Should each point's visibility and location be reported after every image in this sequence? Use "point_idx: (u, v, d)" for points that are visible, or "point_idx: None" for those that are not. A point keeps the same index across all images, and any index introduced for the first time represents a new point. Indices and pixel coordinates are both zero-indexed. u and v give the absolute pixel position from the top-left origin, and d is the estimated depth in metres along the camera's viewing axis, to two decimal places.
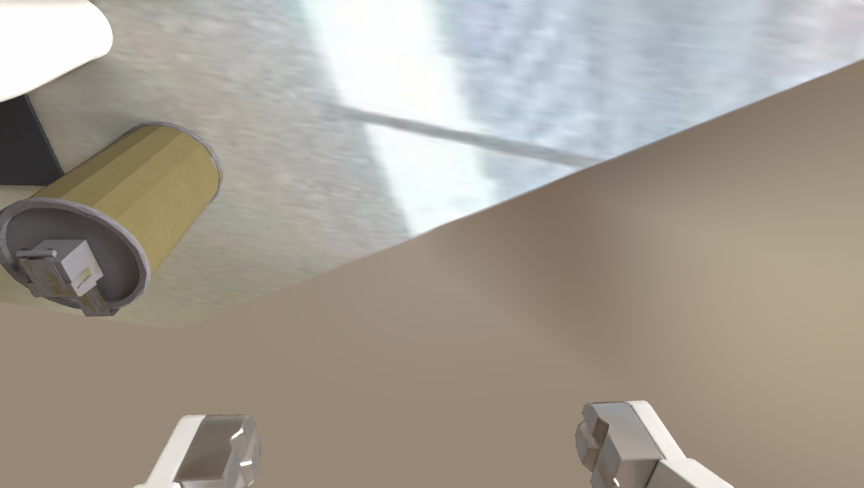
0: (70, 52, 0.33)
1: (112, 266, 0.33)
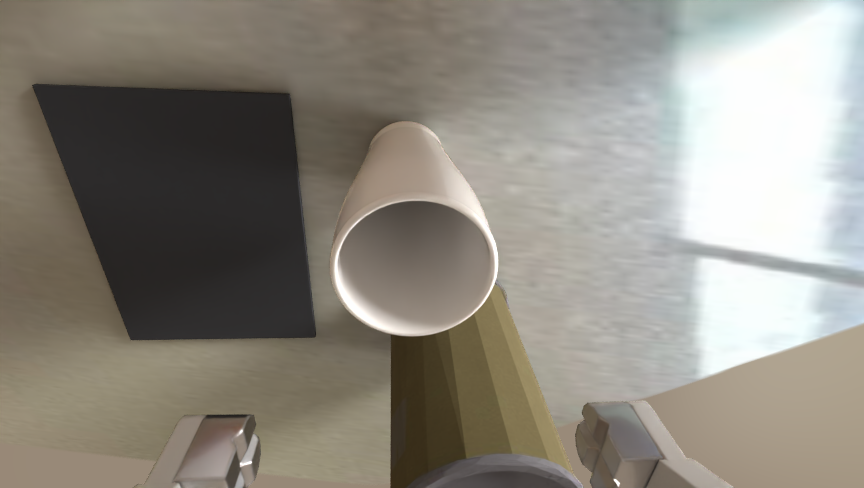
0: None
1: None
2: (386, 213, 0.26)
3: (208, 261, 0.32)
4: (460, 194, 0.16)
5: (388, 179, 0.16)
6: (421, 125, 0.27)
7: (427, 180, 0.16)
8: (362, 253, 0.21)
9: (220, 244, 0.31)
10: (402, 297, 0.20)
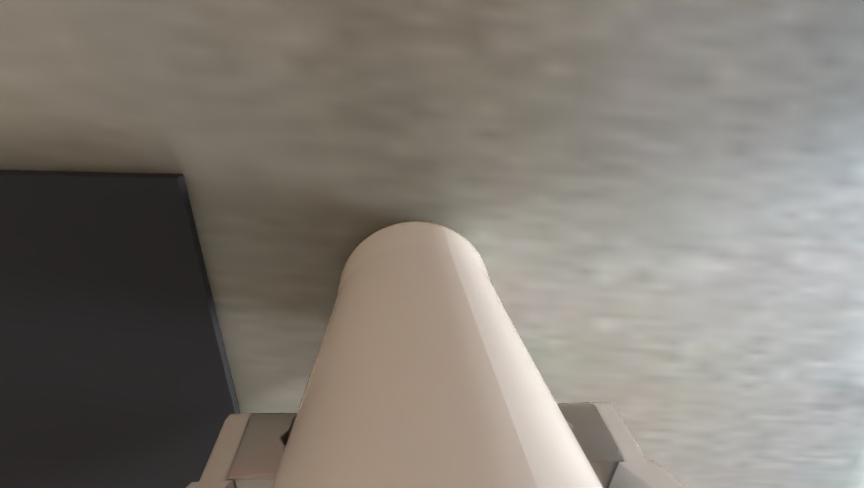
0: None
1: None
2: None
3: (66, 448, 0.18)
4: None
5: None
6: (446, 232, 0.14)
7: None
8: None
9: (83, 424, 0.17)
10: None
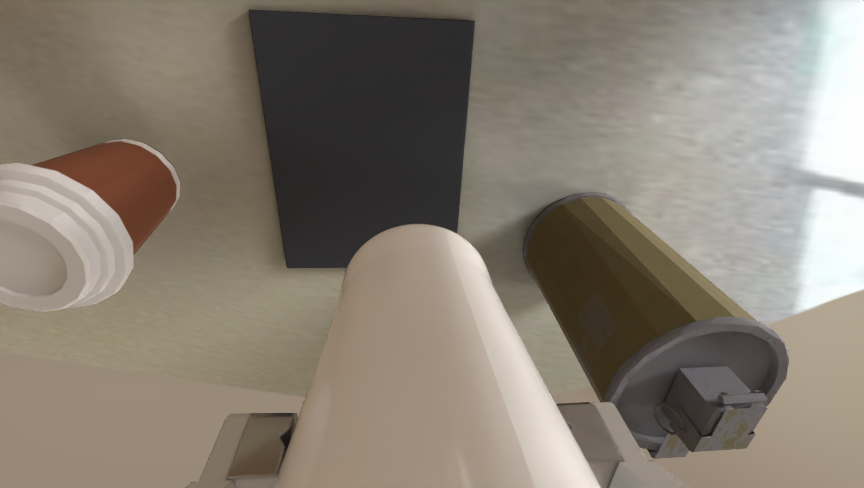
0: None
1: None
2: None
3: (372, 188, 0.34)
4: None
5: None
6: (448, 235, 0.14)
7: None
8: None
9: (386, 171, 0.33)
10: None
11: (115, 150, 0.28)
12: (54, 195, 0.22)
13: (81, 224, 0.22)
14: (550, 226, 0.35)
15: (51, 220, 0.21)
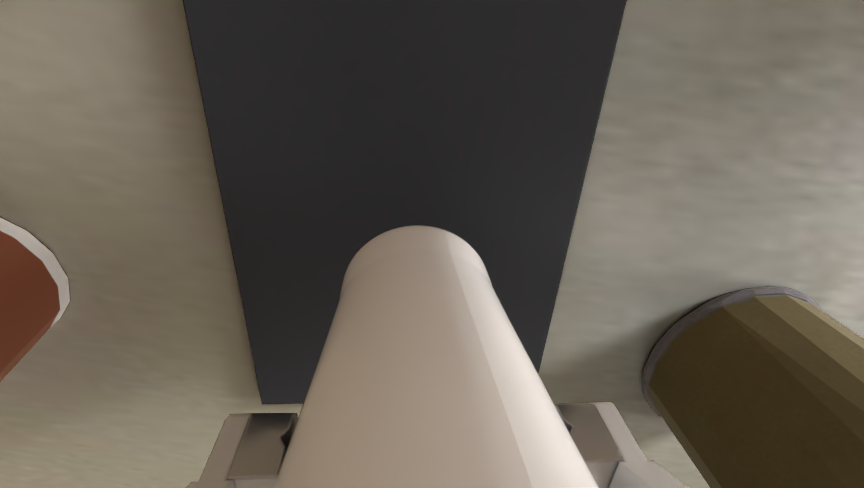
0: None
1: None
2: None
3: None
4: None
5: None
6: (448, 236, 0.14)
7: None
8: None
9: None
10: None
11: None
12: None
13: None
14: (710, 349, 0.20)
15: None
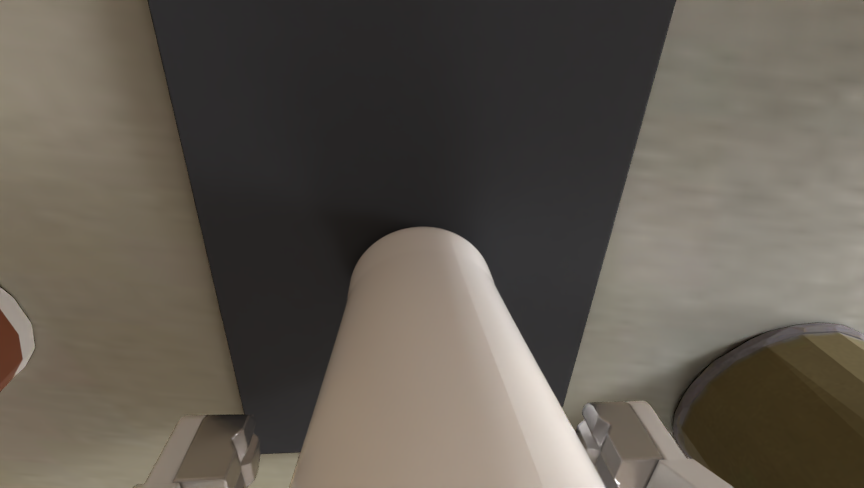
0: None
1: None
2: None
3: None
4: None
5: None
6: (452, 237, 0.14)
7: None
8: None
9: None
10: None
11: None
12: None
13: None
14: (756, 396, 0.18)
15: None
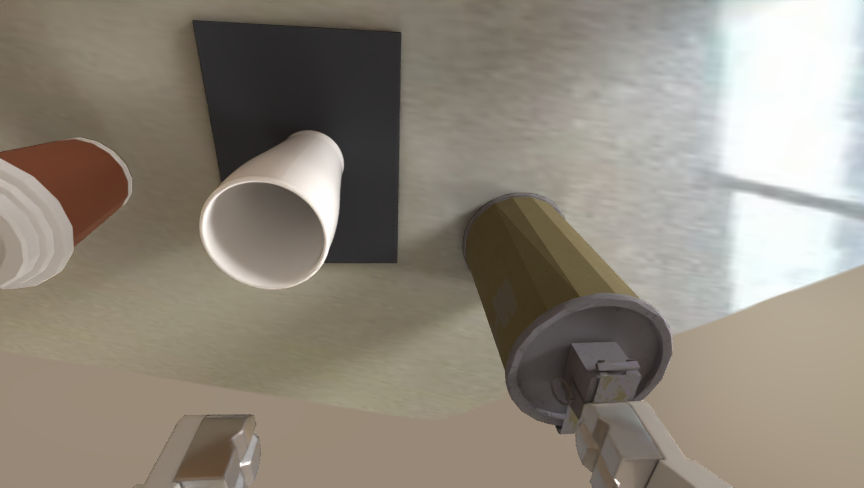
0: None
1: None
2: (287, 204, 0.32)
3: None
4: (297, 179, 0.22)
5: (245, 168, 0.22)
6: (320, 133, 0.33)
7: (271, 168, 0.22)
8: (249, 231, 0.27)
9: None
10: (275, 264, 0.25)
11: (67, 146, 0.31)
12: None
13: (20, 207, 0.24)
14: (482, 223, 0.37)
15: None
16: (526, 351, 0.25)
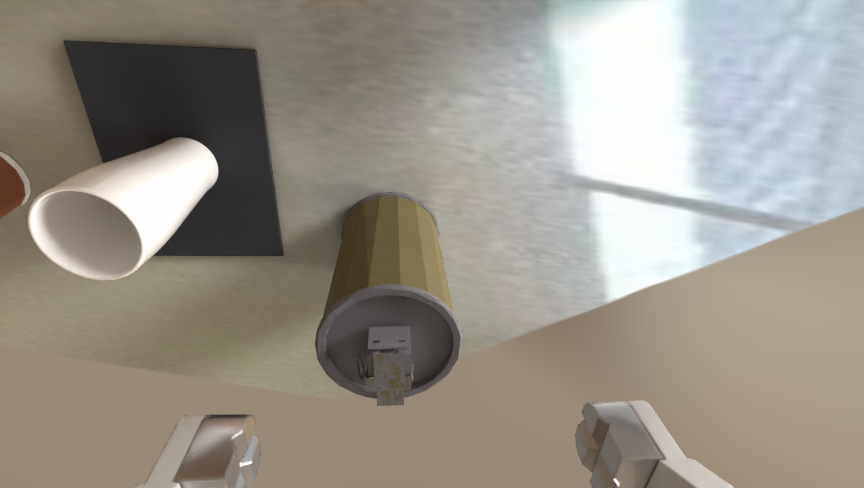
0: (192, 203, 0.33)
1: (420, 352, 0.31)
2: None
3: None
4: (112, 187, 0.26)
5: (69, 178, 0.26)
6: (190, 140, 0.37)
7: (89, 178, 0.26)
8: (102, 229, 0.31)
9: None
10: (119, 258, 0.30)
11: None
12: None
13: None
14: (350, 220, 0.41)
15: None
16: (332, 333, 0.29)
